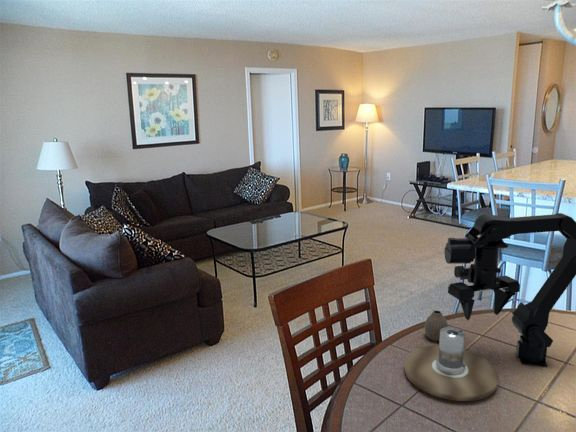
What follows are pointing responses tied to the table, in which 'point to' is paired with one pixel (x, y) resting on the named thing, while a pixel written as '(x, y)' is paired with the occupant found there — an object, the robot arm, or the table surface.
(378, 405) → the table surface
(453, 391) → the turntable
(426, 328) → the vase
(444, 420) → the table surface
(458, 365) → the cover
